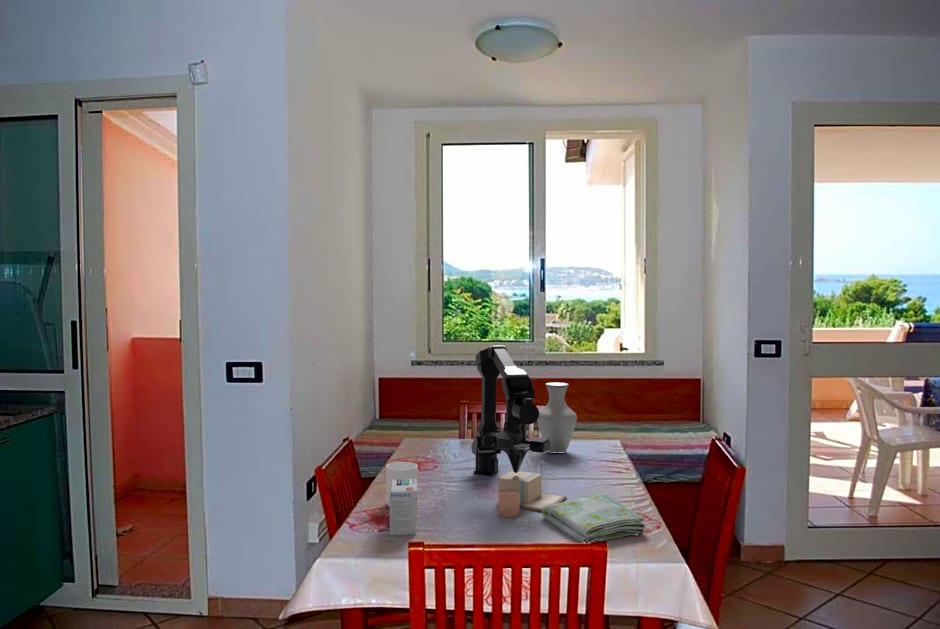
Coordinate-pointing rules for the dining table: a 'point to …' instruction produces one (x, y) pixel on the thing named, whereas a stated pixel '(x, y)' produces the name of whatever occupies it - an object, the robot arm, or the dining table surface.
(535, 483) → the carton
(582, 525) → the towel
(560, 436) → the vase
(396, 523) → the light bulb box
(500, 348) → the robot arm
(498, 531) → the dining table surface
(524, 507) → the picture frame
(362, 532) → the dining table surface
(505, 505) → the wooden cylinder
